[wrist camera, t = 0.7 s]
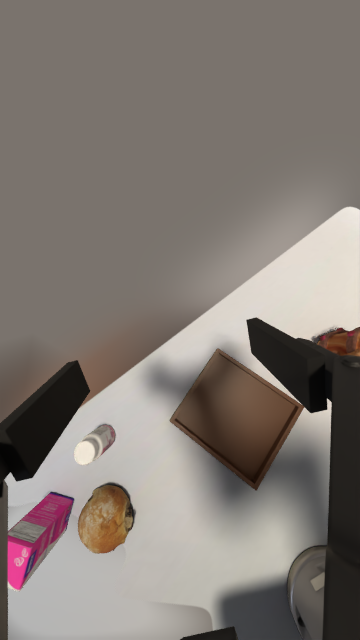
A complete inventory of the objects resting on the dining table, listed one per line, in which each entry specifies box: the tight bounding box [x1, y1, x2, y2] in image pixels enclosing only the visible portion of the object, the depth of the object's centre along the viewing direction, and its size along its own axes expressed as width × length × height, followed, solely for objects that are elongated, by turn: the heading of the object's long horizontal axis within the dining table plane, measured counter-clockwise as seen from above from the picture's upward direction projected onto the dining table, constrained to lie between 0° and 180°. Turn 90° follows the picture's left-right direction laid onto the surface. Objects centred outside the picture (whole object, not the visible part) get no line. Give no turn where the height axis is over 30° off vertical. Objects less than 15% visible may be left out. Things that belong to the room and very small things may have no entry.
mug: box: [317, 327, 360, 356], centre depth 36 cm, size 15×8×15 cm, turn 113°
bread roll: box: [78, 485, 133, 553], centre depth 38 cm, size 10×10×8 cm
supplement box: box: [8, 492, 74, 591], centre depth 35 cm, size 6×6×12 cm
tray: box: [170, 349, 304, 490], centre depth 41 cm, size 21×19×2 cm
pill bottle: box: [74, 425, 115, 465], centre depth 39 cm, size 5×5×8 cm
